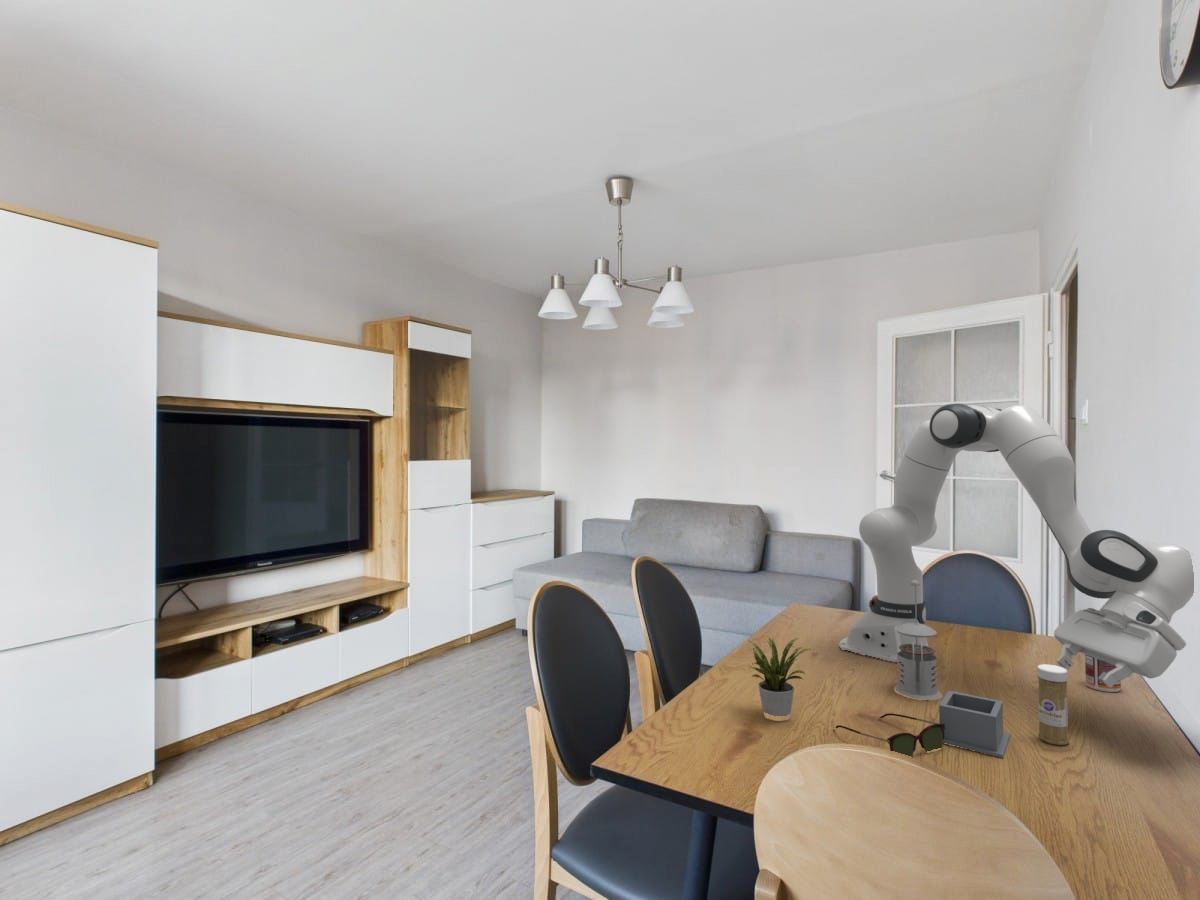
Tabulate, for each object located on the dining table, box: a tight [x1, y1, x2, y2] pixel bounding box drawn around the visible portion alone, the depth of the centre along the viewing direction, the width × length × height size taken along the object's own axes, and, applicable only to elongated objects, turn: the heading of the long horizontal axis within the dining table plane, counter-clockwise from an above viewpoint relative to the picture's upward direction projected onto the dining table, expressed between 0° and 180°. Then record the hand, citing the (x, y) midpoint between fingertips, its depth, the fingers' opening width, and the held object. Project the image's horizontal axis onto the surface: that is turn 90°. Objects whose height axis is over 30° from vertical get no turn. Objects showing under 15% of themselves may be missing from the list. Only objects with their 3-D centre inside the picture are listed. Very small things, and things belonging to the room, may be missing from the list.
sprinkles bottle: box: [1036, 663, 1069, 746], centre depth 116 cm, size 5×5×14 cm
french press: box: [894, 580, 943, 700], centre depth 139 cm, size 10×12×25 cm
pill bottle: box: [1084, 654, 1122, 693], centre depth 141 cm, size 6×6×11 cm
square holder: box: [938, 690, 1011, 759], centre depth 117 cm, size 11×11×7 cm
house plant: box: [747, 635, 816, 716], centre depth 129 cm, size 14×14×16 cm
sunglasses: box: [835, 712, 946, 757], centre depth 118 cm, size 14×15×5 cm
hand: (1081, 674), depth 116 cm, fingers open, 8 cm apart
